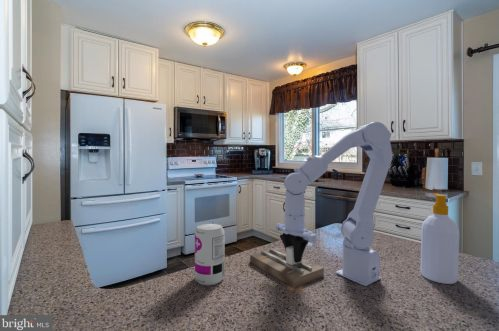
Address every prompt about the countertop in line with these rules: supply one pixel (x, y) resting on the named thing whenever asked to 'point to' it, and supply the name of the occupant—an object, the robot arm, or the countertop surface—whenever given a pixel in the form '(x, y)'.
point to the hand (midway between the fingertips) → (294, 259)
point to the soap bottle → (440, 245)
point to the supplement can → (209, 253)
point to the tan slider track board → (286, 267)
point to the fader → (291, 257)
